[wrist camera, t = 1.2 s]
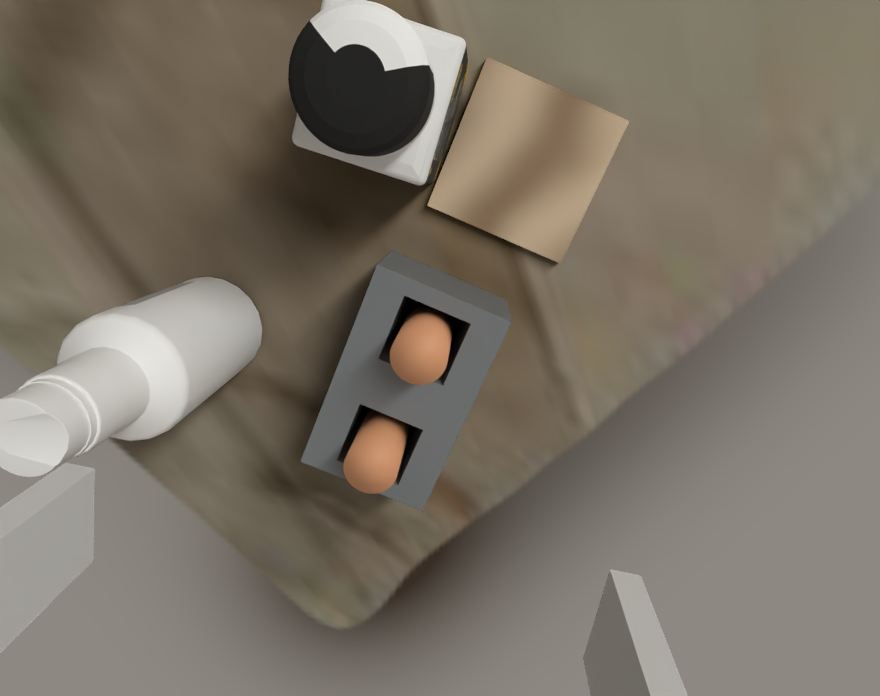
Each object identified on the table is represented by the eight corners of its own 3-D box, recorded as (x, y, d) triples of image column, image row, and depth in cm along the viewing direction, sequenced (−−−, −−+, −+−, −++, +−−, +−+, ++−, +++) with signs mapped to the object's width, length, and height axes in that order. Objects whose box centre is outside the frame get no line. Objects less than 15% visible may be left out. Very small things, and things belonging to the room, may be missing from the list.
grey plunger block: (325, 421, 42) (300, 461, 36) (392, 250, 39) (377, 264, 33) (430, 465, 43) (422, 511, 37) (507, 299, 39) (511, 322, 33)
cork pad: (427, 205, 38) (427, 205, 37) (486, 58, 35) (487, 57, 34) (559, 262, 38) (560, 263, 38) (626, 121, 36) (629, 121, 35)
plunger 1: (355, 439, 39) (335, 481, 33) (372, 398, 38) (354, 435, 32) (398, 456, 39) (385, 501, 33) (416, 417, 38) (405, 457, 33)
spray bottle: (160, 274, 40) (-83, 351, 23) (260, 277, 40) (91, 358, 22) (171, 371, 42) (-45, 511, 25) (267, 375, 42) (116, 520, 24)
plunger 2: (395, 342, 37) (381, 371, 31) (414, 298, 36) (402, 320, 30) (441, 361, 37) (434, 393, 32) (460, 317, 36) (457, 343, 31)
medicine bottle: (434, 184, 37) (413, 190, 26) (323, 148, 37) (253, 138, 26) (470, 63, 35) (465, 11, 24) (353, 25, 35) (291, -47, 24)
